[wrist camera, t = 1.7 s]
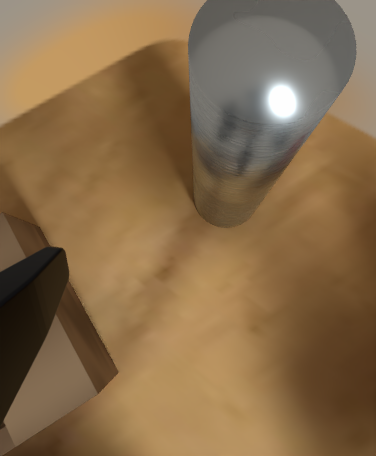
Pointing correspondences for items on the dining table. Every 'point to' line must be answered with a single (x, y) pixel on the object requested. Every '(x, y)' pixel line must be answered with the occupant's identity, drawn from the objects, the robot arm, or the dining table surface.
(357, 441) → the dining table surface
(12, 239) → the slot block
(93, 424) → the dining table surface
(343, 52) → the pin
